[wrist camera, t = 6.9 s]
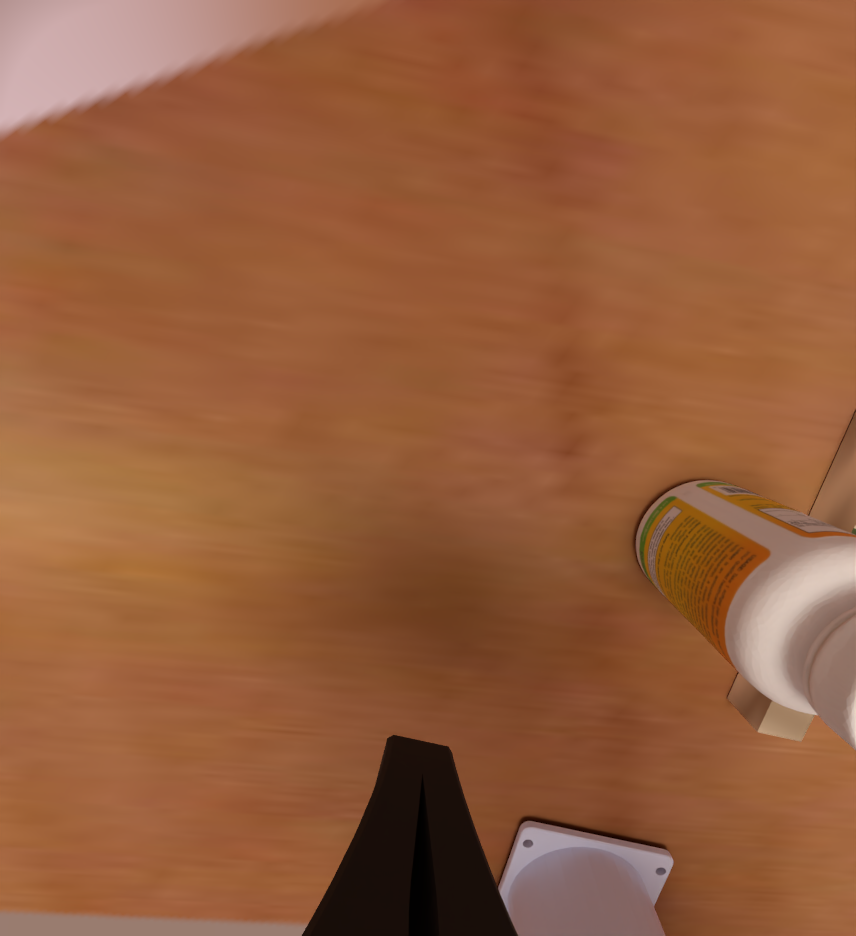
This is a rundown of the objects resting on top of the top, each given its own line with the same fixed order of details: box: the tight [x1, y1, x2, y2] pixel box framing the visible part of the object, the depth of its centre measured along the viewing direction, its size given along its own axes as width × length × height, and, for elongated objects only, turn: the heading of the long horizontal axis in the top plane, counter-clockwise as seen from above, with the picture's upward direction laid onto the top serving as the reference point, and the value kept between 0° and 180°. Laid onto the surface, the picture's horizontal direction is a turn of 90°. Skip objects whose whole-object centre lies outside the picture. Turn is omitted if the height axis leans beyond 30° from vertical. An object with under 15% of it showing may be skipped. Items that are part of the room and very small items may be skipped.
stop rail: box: [727, 412, 856, 742], centre depth 18 cm, size 14×2×2 cm, turn 167°
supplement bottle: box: [636, 480, 856, 750], centre depth 14 cm, size 5×5×10 cm
